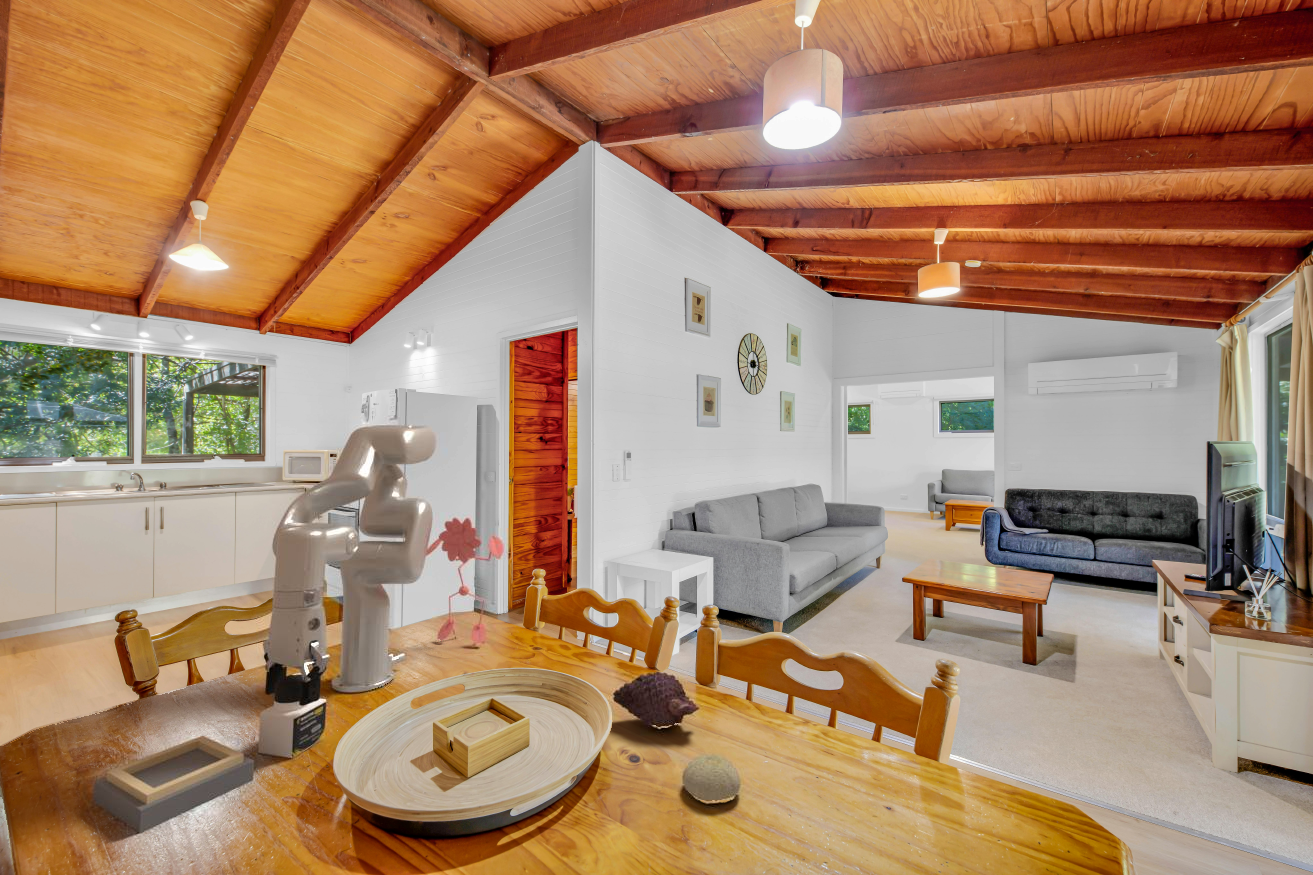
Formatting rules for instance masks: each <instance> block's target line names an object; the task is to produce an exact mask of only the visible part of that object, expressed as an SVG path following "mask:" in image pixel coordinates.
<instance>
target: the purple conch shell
mask: <svg viewBox="0 0 1313 875" xmlns="http://www.w3.org/2000/svg"><path fill="white" fill-rule="evenodd" d="M612 695H613V698H612V700H613V702H615V703H616V704H618V705H619V706H621V707H622V708H624V709H626V710H627V711H628V713H629V714H631V715H633V716H634V717H636V719H638V720H641V721H642V722H643V724H644V723H645V724H648V726H649V725H650V726H649V727H652V725H656V726H657V727H661V726H669V725H673V726H674V724H675V723H681V724H682V722H683V719H684V717H685V716H687V715H688V716H689V715H692V714H694V713H695V712H697V711H699V710H700V707H699V706H697V705H696V703H694V701H693V700H690V696H687V694H686V692H685V689H684V687H683V684H682V683H680V680H678V679H676V677H675V675H673V674H670V675H669V674H668V673H667V672H663V673H661V672H660V671H656V672H654V673H653V672H648V673H646V675H644V674H640V675H639V677H638V676H637V677H636V678H635V679H633V680H631V682H629V683H628V682H625V683H624V684H623V686H620V688H618V689H615V691H614V692H613V693H612ZM645 724H644V725H645Z"/></svg>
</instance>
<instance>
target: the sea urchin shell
mask: <svg viewBox="0 0 1313 875" xmlns="http://www.w3.org/2000/svg"><path fill="white" fill-rule="evenodd" d="M683 784H684V785H683ZM682 785H683V787H684V786H685V787H684V789H685V788H686V789H687V790H688V791H689V792H690V793H691V794H692V795H693V796H695V797H697V798H698V799H701V800H705V801H712V800H715V801H717V800H722V799H727V798H730V797H733V796H735V795H736V794H737V793H738V794H739V792H740V789H741V788H740V787H741V785H742V784H741V779H740V776H739V772H738V769H736V767H735V765H734V764H733V763H732V762H731V761H730V760H729V759H728V758H726V757H724V756H722V755H721V754H715V753H703V754H701V755H698V756H696V757H695V758H694V759H692V760H691V761H689V763H688V764H687V765H686V767H685V768H684V770H683V771H682ZM739 788H740V789H739ZM686 789H685V790H686ZM738 791H739V792H738ZM692 795H691V796H692Z"/></svg>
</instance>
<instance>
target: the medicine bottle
mask: <svg viewBox="0 0 1313 875" xmlns="http://www.w3.org/2000/svg"><path fill="white" fill-rule="evenodd" d="M302 681H304V680H303V677H302V675H301V672H300V673H299V672H298V673H293V674H289V675H286V677H284V678H282V679H280V680H278V681H277V682H276V683H275V691H274V693H273V705H272V706H270V707H268V708H266V709H264V710H262V711H261V712H260V713H259V734H258V749H257V750H258V754H260V755H261V754H262V755H268V756H275V757H279V758H280V757H281V758H287V759H294V758H296V757H297V756H298V755H300V754H302V753H304V752H305V751H307V750H308V749H310V748H311V747H313V746H315V745H316V744H318V743H320V742H321V741H323V740H324V739H325V737H326V716H327V715H326V714H327V712H326V711H327V700H326V699H325V698H319V700H318V701H315V702H313V703H310V704H307V705H304V706H301V705H299V698H300V683H301V682H302Z"/></svg>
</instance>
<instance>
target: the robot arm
mask: <svg viewBox="0 0 1313 875" xmlns="http://www.w3.org/2000/svg"><path fill="white" fill-rule="evenodd" d="M436 446H437V440H436V436H435V433H434V431H433V430H432V429H431V428H430V427H428V426H424V425H423V426H422V425H397V424H395V425H393V424H378V425H372V426H363V427H362V426H361V427H359V428H357V429H355V430H354V431H353V432H351V434H350V436H349V437H348V439H347V441H346V443H345V445H344V447H343V449H342V452H341V453H340V455H339V457H338V460H337V461H336V464H335V465H334V467H333V469H332V472H331V474H330V475H329V476H328V477H327V478H326V479H324V480H321V481H320V482H318V483H316V484H315V485H314V486H312V487H311V488H309V489H308V490H306V491H305V492H304V493H302V494H300V495H299V496H298V497H296V498H295V500H293V501H292V503H290V505H289V506H288V508H287V509H286V510H285V513H284V514H283V516H282V518H281V520H280V522H279V524H278V526H277V527H276V531H275V533H274V535H273V538H272V544H271V546H272V547H271V548H272V553H273V554H274V556H275V567H274V580H273V595H272V596H273V598H272V609H271V610H272V611H271V612H272V613H271V618H270V624H269V631H268V636H267V639H266V640H264V641H263V643H262V648H263V653H264V654H263V659H264V660H265V665H264V669H265V671H266V672H265V673H266V674H265V675H266V677H265V690H264V693H265V695H267V696H269V695H272V694H273V695H274V691H275V683H276V682H277V681H278V680H280V679H282V678H284V677H286V676H287V673H288V672H287V670H288V668H292V669H297V670H299V671H300V673H301V675H302V677H303V680H304V681H302V682H301V683H300V698H299V705H301V706H304V705H307V704H310V703H313V702H315V701H318V700H319V699H321V697H320V696H321V681H322V680H321V679H322V678H323V677H324V673H325V672H326V671H327V666H328V664H329V661H330V658H331V657H330V655H329V653H328V652H327V620H326V613H325V612H326V611H325V607H324V605H323V603H324V588H325V571H326V564H327V565H328V564H339V568H340V570H339V571H340V575H341V583H342V584H341V585H342V594H343V596H342V597H343V599H342V600H343V602H342V603H343V604H342V619H341V620H342V623H341V644H340V645H341V646H340V647H341V649H340V666H339V668H340V672H339V674H337V675H335V676H334V677H333V678H332V680H331V688H332V689H333V690H335V691H337V692H340V693H361V692H368V691H372V689H373V690H376V689H379V688H381V686H382V687H385V686H386V685H388V684H390V683H391V682H392V681H393V680H394V679H395V670H394V669H392V667H394V666H395V664H398V663H399V664H400V663H401V662H404V661H405V660H406V654H405V653H404V652H401V653H397V654H395V655H394V654H392V653H389V641H390V638H389V636H390V635H389V634H390V617H391V616H390V612H391V602H390V597H389V595H388V592H387V590H386V589H385V587H384V586H383V585H410V584H412V583H413V584H414V583H415V582H417V581H419V579H420V577H421V575H422V574H423V570H424V566H425V564H426V563H425V562H426V558H427V556H426V553H427V549H428V548H429V543H430V537H431V532H432V527H433V509H432V506H431V504H430V503H429V502H428V501H427V500H426V499H423V498H418V497H417V498H415V497H414V498H413V497H406V493H407V488H408V480H407V477H406V475H405V473H404V472H403V470H402V469H401V468H400V467H399V466H398V465H405V466H406V465H414V464H420V463H422V462H425V461H427V460H429V459H431V457H432V456H433V454H434V452H435V450H436ZM362 499H364V500H363V505H362V508H361V512H360V516H359V521H358V526H359V531H360V532H361V533H362V534H363V535H365V536H366V537H371V538H380V539H381V538H383V539H404V541H395V540H394V541H392V540H391V541H389V540H360V535H359V533H358V531H357V530H356V529H355V528H354V527H353V526H351V525H349V524H344V523H326V522H313V521H314V520H315V519H317V518H318V517H319V516H321V515H323V514H325V513H327V512H329V511H331V510H333V509H336V508H340V507H343V506H346V505H350V504H352V503H355V502H358V501H360V500H362ZM311 667H312V668H311ZM309 668H311V670H310V671H309ZM393 678H394V679H393ZM392 679H393V680H392ZM391 680H392V681H391ZM390 681H391V682H390ZM389 682H390V683H389ZM387 683H388V684H387ZM385 684H386V685H385ZM378 687H379V688H378ZM375 688H376V689H375Z"/></svg>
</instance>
